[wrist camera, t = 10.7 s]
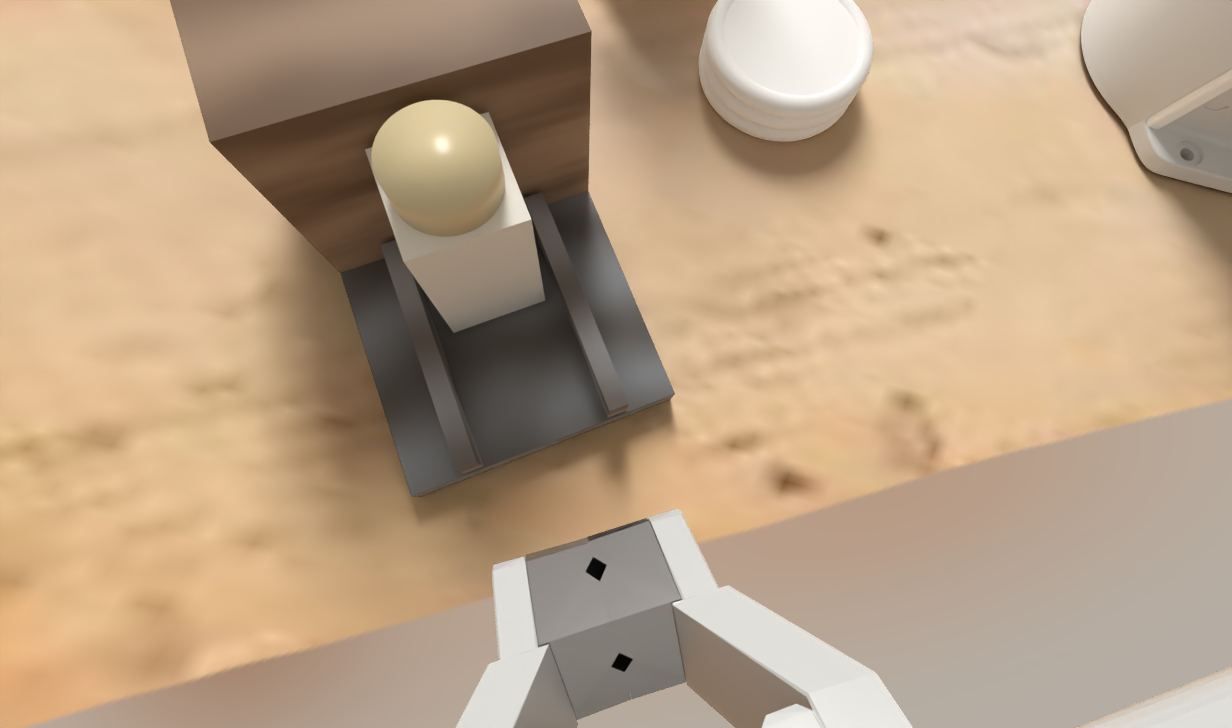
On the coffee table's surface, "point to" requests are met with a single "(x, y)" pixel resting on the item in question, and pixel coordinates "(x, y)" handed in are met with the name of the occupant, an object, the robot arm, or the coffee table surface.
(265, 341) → the coffee table surface
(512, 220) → the knob
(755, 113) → the coaster
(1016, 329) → the coffee table surface
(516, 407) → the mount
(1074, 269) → the coffee table surface
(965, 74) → the coffee table surface
